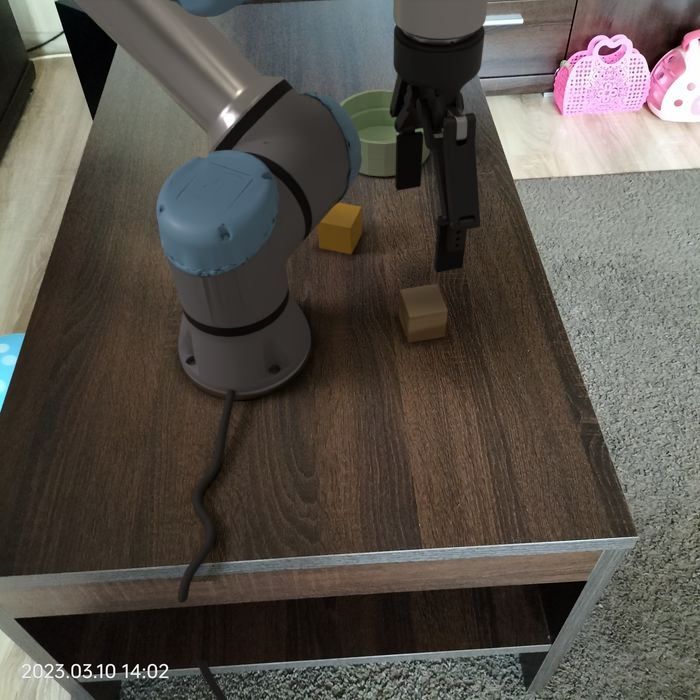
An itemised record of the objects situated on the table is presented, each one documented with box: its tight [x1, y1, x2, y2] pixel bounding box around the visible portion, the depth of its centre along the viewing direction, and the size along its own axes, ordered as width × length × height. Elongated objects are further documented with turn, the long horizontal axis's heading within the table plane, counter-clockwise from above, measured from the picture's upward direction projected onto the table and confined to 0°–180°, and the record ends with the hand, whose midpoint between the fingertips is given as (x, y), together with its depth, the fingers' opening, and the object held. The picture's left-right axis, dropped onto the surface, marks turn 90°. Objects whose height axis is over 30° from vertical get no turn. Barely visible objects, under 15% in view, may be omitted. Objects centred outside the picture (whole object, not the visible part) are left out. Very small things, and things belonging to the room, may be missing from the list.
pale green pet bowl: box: [339, 88, 431, 177], centre depth 108 cm, size 14×14×6 cm
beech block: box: [398, 283, 449, 344], centre depth 85 cm, size 4×4×4 cm
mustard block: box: [317, 201, 363, 256], centre depth 95 cm, size 4×4×4 cm
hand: (426, 225), depth 76 cm, fingers open, 13 cm apart
